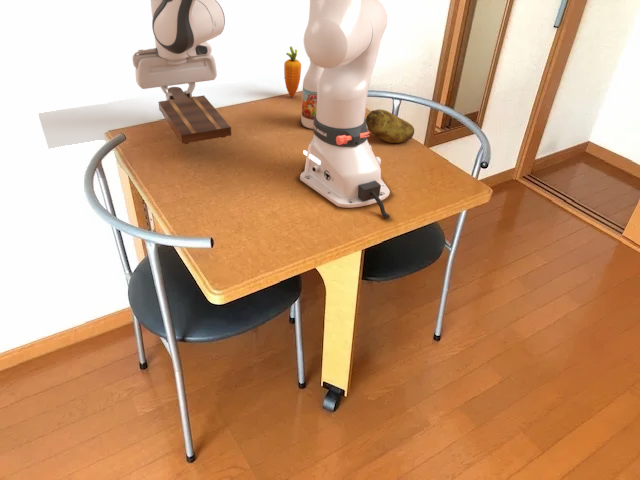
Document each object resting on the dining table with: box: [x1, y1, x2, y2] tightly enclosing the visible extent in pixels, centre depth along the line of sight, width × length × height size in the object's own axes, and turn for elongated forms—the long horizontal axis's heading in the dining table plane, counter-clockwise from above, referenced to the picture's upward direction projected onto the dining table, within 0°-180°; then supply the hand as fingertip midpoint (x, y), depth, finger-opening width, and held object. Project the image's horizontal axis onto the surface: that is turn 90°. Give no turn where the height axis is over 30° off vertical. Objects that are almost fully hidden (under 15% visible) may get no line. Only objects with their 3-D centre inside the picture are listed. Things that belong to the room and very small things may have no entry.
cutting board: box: [158, 86, 232, 145], centre depth 139 cm, size 28×12×3 cm, turn 28°
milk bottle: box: [300, 59, 324, 130], centre depth 148 cm, size 8×8×20 cm
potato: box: [365, 108, 415, 144], centre depth 147 cm, size 8×13×8 cm, turn 73°
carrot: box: [283, 46, 302, 98], centre depth 164 cm, size 5×5×15 cm
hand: (179, 99), depth 145 cm, fingers closed on cutting board, 3 cm apart
